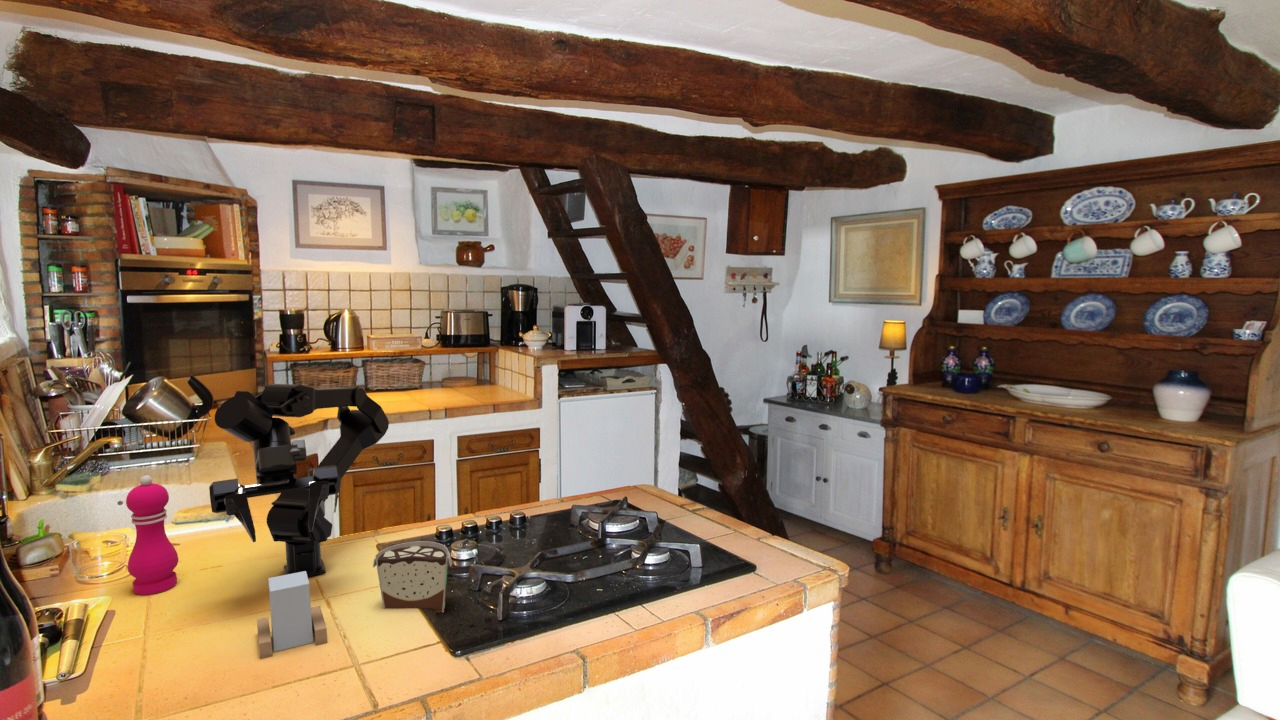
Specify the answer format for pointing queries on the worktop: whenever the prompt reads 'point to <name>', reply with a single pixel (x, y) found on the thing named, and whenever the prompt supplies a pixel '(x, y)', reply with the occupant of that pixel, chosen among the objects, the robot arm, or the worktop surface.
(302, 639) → the block
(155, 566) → the pepper mill
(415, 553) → the food container
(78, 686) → the worktop surface
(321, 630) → the tan cradle
